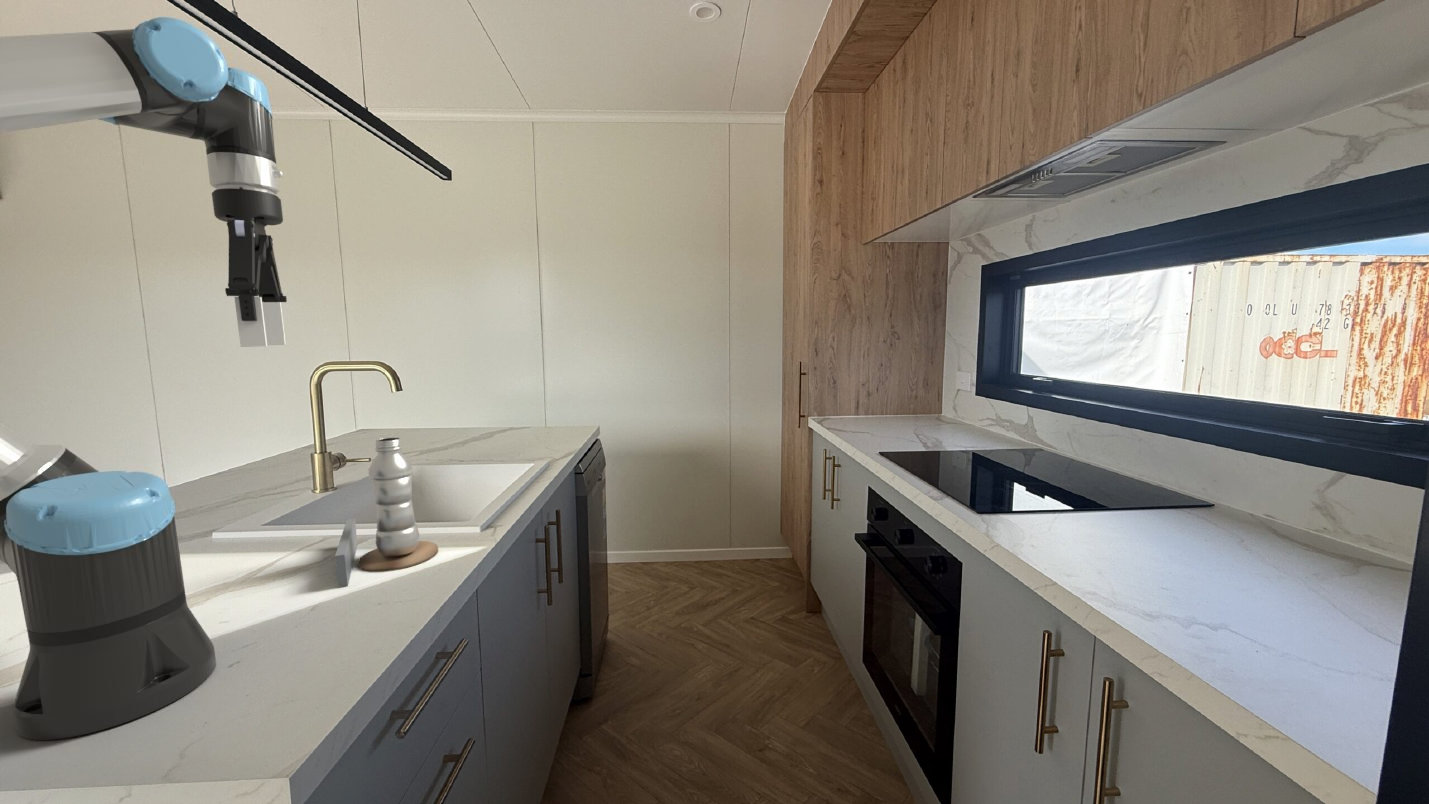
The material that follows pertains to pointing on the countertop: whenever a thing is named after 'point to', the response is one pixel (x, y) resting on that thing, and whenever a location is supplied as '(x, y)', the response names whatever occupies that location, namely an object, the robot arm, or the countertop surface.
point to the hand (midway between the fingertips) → (265, 346)
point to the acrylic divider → (346, 553)
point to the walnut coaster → (398, 558)
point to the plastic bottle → (393, 499)
